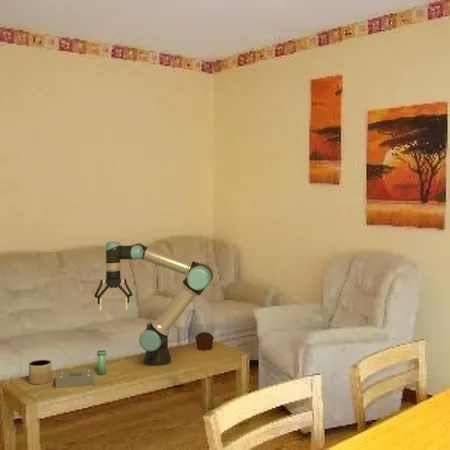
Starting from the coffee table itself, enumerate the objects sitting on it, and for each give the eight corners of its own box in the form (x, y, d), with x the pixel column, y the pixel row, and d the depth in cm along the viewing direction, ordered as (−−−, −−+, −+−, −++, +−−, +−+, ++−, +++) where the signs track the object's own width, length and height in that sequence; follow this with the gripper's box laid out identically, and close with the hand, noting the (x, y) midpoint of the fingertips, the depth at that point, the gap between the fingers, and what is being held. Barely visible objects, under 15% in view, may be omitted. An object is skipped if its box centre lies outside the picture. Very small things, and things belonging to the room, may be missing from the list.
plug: (106, 372, 303) (106, 350, 302) (106, 375, 298) (106, 352, 297) (96, 373, 302) (96, 350, 301) (97, 375, 297) (96, 352, 296)
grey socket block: (93, 377, 294) (93, 368, 294) (93, 385, 282) (93, 375, 282) (57, 380, 290) (56, 371, 290) (55, 387, 278) (55, 378, 278)
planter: (33, 378, 294) (33, 359, 293) (54, 378, 293) (54, 359, 293) (25, 385, 283) (25, 365, 282) (47, 385, 282) (47, 365, 282)
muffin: (217, 348, 350) (217, 332, 350) (206, 352, 342) (206, 335, 341) (203, 345, 358) (202, 329, 357) (191, 349, 349) (191, 333, 349)
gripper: (136, 268, 315) (136, 307, 316) (89, 270, 309) (89, 309, 310) (137, 270, 308) (137, 309, 309) (89, 272, 302) (89, 312, 303)
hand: (113, 309), depth 310 cm, fingers open, 13 cm apart
